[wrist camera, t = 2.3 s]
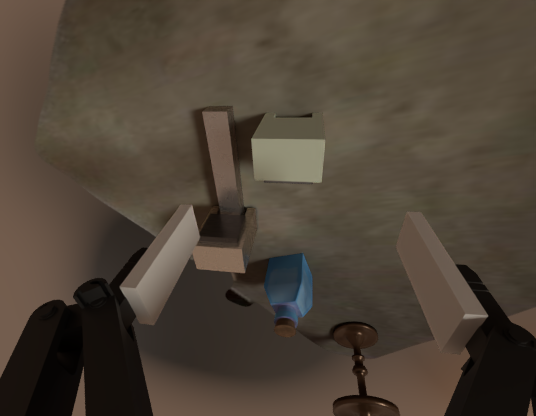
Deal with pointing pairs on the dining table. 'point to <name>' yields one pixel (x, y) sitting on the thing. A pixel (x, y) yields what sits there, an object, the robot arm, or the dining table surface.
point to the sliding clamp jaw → (289, 149)
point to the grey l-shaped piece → (225, 201)
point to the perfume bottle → (288, 291)
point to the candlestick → (360, 373)
